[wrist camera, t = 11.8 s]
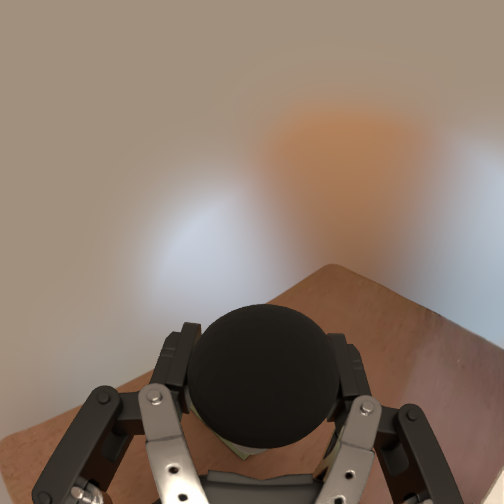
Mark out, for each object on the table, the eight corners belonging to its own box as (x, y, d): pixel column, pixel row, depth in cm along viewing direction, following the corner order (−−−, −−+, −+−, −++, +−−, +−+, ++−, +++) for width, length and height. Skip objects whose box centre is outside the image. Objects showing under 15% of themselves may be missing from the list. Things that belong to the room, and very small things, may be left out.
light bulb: (251, 388, 17) (266, 259, 12) (319, 439, 13) (387, 324, 9) (180, 435, 13) (145, 314, 8) (250, 503, 10) (282, 445, 5)
